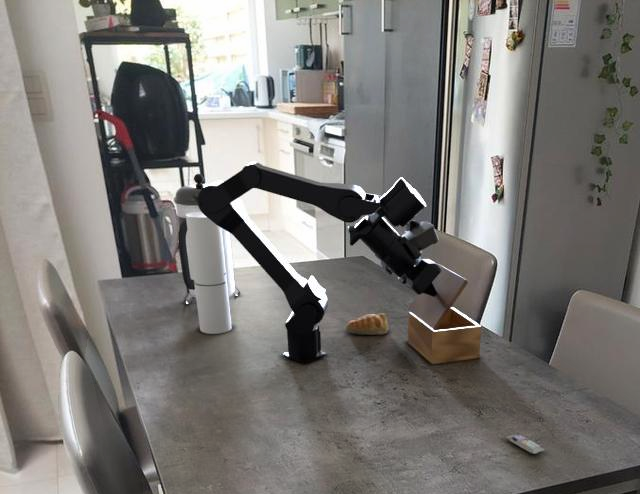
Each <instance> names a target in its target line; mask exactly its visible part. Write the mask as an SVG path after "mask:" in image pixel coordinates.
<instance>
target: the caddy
mask: <svg viewBox="0 0 640 494" xmlns="http://www.w3.org/2000/svg"><path fill="white" fill-rule="evenodd" d="M407 315H408V316H407V344H408V345H410V346H411V347H412V348H413V349H414V350H415V351H416V352H418V353H419V354H420V355H421V356H422V357H424V358H425V359H426V360H427V361H428V362H429V363H430V364H432V365H437V364H444V363H445V364H446V363H453V362H459V361H466V360H474V359H479V358H480V352H481V351H480V350H481V340H482V339H481V338H482V330H483V329H482V328H483V326H482V325H480V324H479V323H478V322H476V321H475V320H473V319H472V318H470V317H469V316H467V315H466V314H464V313H463V312H462V311H459V310H458V309H456V308H455V307H453V306H452V307H451V308H450V310H449V311H448V313H447V314H446V316H445V317H444V319H443V320H442V322H441V323H440V325H439V326H438V328H437V329H436V330H434V329H432V328H431V327H430V326H428V325H427V324H426V323H425V322H423V321H422V320H421V319H419V318H418V317H417V316H415V315H414V314H413V313H412V312H410V311H408V314H407Z"/></svg>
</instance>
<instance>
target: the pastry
mask: <svg viewBox="0 0 640 494" xmlns="http://www.w3.org/2000/svg"><path fill="white" fill-rule="evenodd" d="M345 328H346V330H347V332H349V333H352V334H354V335H356V336H357V335H364V336H365V335H369V336H373V335H374V336H376V335H385V334H387V333H388V332H389V323H388V320H387V316H386V314H385V313H382V312H380V313H379V314H377V313H370V314H369V313H368V314H366V315H362V316H360V317H356V318H354V319H352V320H348V322H347V324H346V327H345Z"/></svg>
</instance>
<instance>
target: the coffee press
mask: <svg viewBox="0 0 640 494" xmlns="http://www.w3.org/2000/svg"><path fill="white" fill-rule="evenodd" d="M193 180H194V182H195V184H188V185H183V186H181V187H180V188H178V189H177V190H176V192H175V195H174V197H173V202H174V204H175V207H176V222H177V225H178V235H177V241H178V252H179V258H180V259H179V260H180V265H181V273H182V278H183V282H184V285H185V287H186V288H185V289H186V293H185V295H184V297H183V300H182V301H183V302H184V303H185V304H186V305H189V304H191V303H192V302H193V300H196V292H195V285H194V277H193V269H192V261H191V253H190V245H189V237H188V229H187V221H186V214H188V213H191V212H199V211H200V209H199V207H198V195H199V193H200V191H201V190H202V189H203V188H204V187H206V186H208V185H209V184H210V183H209V184H208V183H203V182H204V180H205V178H204V176H203V175H202V174H201V173H196V174H195V175H194V176H193ZM221 229H222V238H223V248H224V258H225V268H226V278H227V288H228V297H230V296H231V295H234V296H235V297H240V296H241V291H240V289H238V287H237V286H236V279H235V278H236V277H235V269H234V259H233V247H232V238H231V233H230V232H228V231H226V230H224V229H223V228H221ZM235 290H236V291H237V294H235V293H234V292H235ZM189 295H190V296H191V297H190V298H189V299H188V297H189ZM187 299H188V301H187Z"/></svg>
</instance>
